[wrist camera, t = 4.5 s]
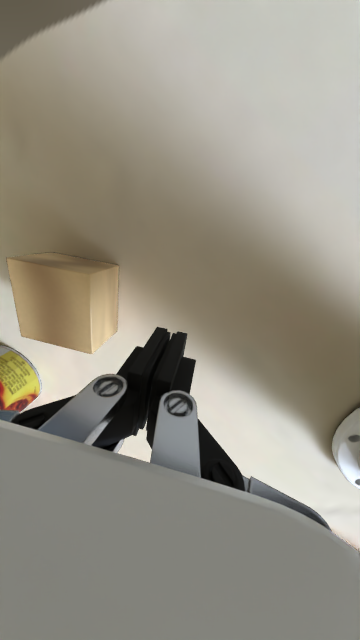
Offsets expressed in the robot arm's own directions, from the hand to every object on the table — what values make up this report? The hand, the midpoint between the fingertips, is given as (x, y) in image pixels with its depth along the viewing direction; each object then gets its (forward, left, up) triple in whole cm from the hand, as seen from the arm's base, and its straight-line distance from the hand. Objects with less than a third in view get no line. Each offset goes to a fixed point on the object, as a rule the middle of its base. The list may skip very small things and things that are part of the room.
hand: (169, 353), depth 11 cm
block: (+9, 0, -6) cm, 11 cm away
